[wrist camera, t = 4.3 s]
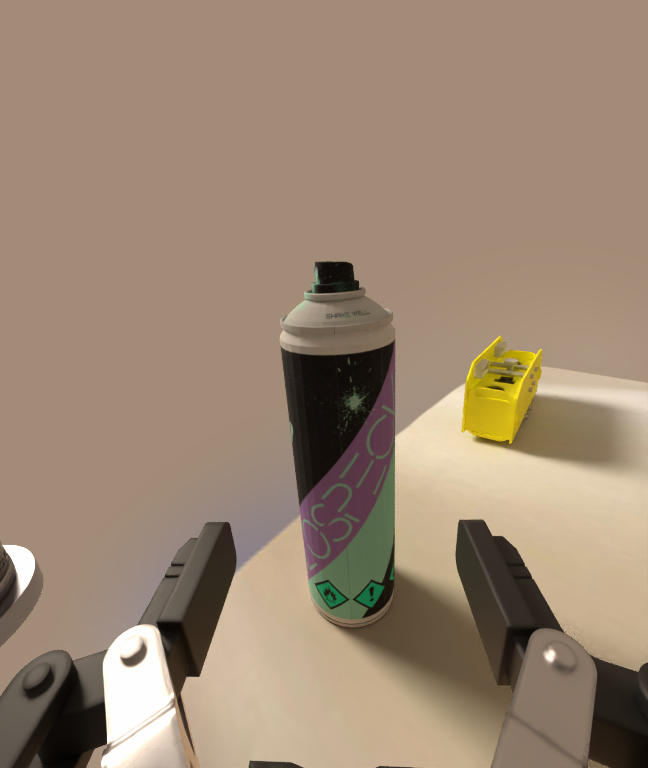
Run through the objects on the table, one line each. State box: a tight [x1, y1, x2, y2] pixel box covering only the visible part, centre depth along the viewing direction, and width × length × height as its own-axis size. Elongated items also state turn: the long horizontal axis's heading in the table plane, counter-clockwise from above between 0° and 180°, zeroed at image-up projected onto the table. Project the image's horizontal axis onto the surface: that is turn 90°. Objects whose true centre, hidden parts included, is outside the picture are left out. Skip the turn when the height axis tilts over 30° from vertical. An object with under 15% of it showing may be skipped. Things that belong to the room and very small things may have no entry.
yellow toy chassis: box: [462, 336, 542, 444], centre depth 41 cm, size 16×6×8 cm, turn 143°
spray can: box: [280, 261, 395, 628], centre depth 19 cm, size 6×6×20 cm
